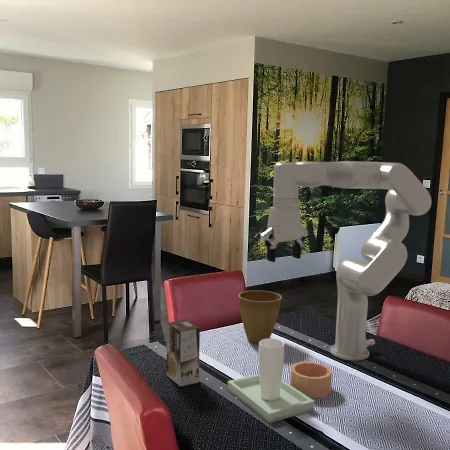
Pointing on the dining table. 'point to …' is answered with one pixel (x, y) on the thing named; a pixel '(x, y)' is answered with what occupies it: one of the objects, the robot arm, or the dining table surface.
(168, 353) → the coffee box
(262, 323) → the plant pot
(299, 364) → the holder cup
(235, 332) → the dining table surface
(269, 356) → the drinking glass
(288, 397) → the tray
